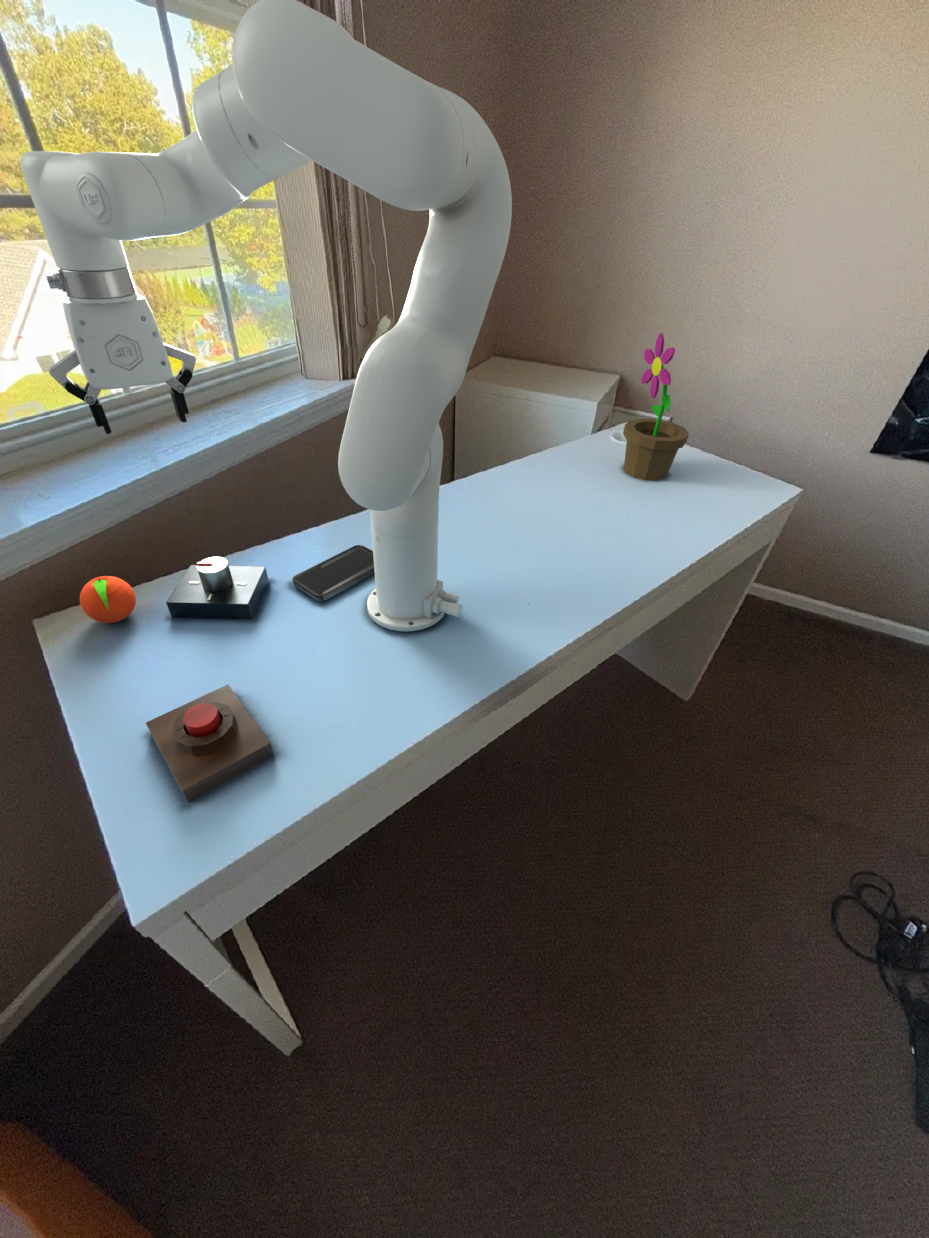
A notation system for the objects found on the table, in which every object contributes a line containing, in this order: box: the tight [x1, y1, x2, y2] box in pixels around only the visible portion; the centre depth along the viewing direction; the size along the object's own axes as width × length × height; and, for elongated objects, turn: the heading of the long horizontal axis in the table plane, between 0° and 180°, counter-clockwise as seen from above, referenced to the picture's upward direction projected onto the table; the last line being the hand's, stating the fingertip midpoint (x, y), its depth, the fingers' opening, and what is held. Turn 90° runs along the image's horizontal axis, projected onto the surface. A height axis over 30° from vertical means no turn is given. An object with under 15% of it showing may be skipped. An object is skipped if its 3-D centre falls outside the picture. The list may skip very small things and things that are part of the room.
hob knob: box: [196, 556, 233, 592], centre depth 84 cm, size 4×4×4 cm
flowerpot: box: [622, 332, 690, 481], centre depth 122 cm, size 14×14×30 cm
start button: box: [183, 703, 221, 737], centre depth 62 cm, size 4×4×2 cm
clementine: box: [79, 575, 137, 624], centre depth 80 cm, size 8×7×7 cm
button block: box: [145, 684, 275, 803], centre depth 64 cm, size 12×10×4 cm
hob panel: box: [165, 564, 270, 620], centre depth 86 cm, size 12×10×3 cm
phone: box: [292, 544, 375, 602], centre depth 93 cm, size 8×1×15 cm
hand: (146, 425), depth 77 cm, fingers open, 9 cm apart
